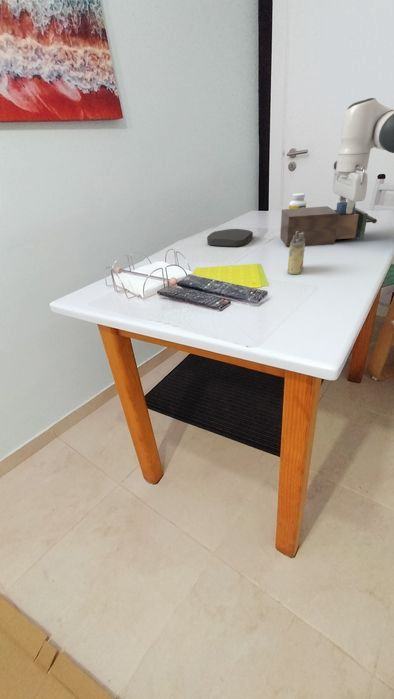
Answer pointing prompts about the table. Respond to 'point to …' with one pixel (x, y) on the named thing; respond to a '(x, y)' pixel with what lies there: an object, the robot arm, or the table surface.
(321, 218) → the cabinet
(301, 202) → the pill bottle
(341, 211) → the block
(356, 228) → the drawer
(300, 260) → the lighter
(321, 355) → the table surface
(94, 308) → the table surface
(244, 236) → the media streaming box
